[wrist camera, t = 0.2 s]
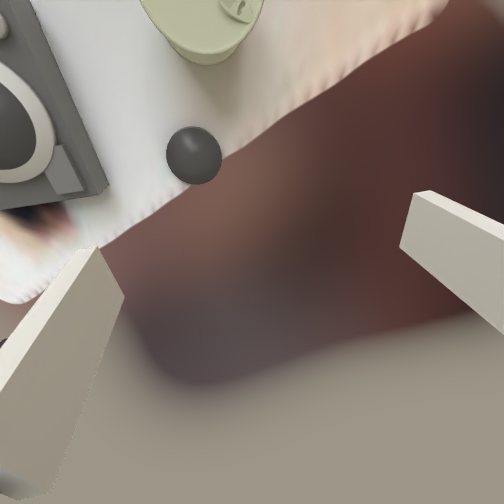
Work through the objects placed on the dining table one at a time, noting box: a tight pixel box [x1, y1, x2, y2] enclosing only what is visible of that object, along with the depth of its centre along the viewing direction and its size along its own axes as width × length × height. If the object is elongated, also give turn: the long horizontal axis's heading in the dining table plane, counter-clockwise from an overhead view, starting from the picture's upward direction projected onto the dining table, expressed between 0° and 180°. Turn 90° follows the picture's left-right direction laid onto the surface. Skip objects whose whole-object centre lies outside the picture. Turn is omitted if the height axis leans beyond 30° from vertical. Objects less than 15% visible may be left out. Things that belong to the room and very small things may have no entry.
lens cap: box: [166, 127, 222, 184], centre depth 33 cm, size 7×7×2 cm
